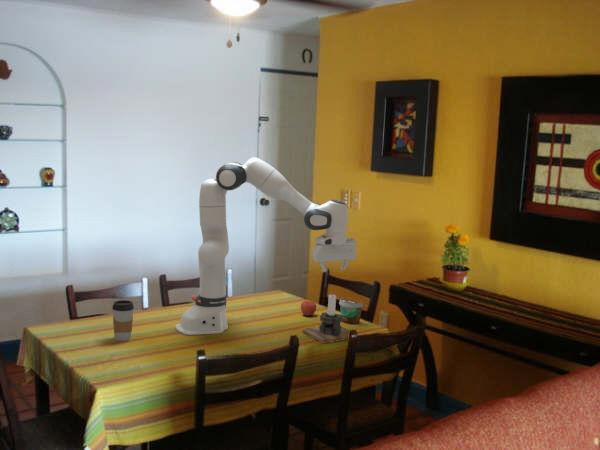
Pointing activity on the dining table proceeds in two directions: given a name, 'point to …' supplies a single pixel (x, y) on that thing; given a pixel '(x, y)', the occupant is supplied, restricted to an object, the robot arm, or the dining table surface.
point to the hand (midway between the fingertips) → (333, 271)
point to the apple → (308, 307)
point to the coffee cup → (122, 319)
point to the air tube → (331, 308)
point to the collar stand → (328, 329)
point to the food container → (350, 311)
